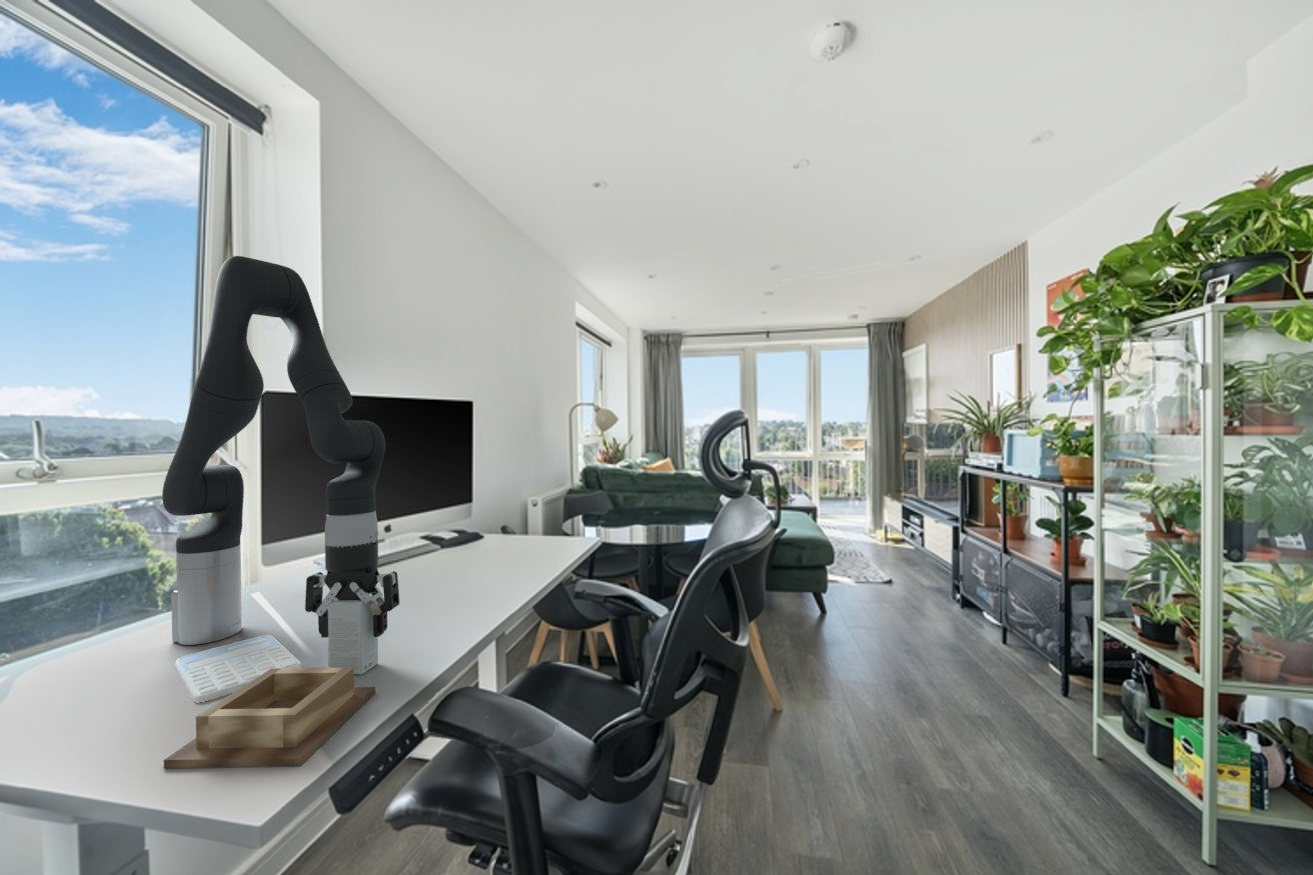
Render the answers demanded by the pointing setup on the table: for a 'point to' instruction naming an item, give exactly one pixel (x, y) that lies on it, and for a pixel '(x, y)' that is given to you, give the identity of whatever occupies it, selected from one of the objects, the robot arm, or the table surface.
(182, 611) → the robot arm
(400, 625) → the table surface
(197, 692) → the calculator
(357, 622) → the skincare box
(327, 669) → the wooden box stand
